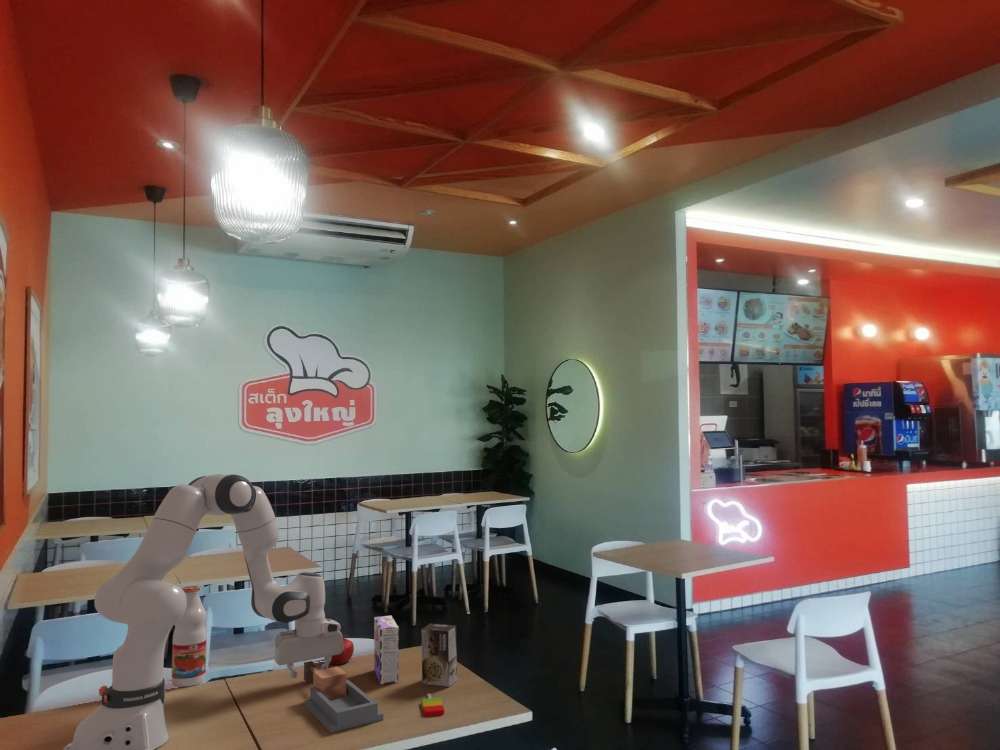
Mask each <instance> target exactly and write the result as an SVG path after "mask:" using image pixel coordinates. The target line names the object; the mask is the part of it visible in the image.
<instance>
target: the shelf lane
mask: <svg viewBox="0 0 1000 750" xmlns="http://www.w3.org/2000/svg"><path fill="white" fill-rule="evenodd" d="M309 689H310V690H309V691H310V696H309V698H308V699H307V698H306V699H304V704H303V706H304V708H306V709H307V710H308V711H309V712H310V713H311V714H312V715H313V716H314V718H315V719H317V720H318V721H319V723H321V724H322V726H324V728H325V729H326V730H327V731H328V732H330V734H333V733H337V732H342V731H346V730H349V729H352V728H358V727H360V726H364V725H368V724H371V723H376V722H380V721H383V720H384V713H383V712H382V711H381V710H380V709H378V708H379V707H378V706H379V705H378V702H377V701H375V700H374V699H373V698H372V697H370V696H369V695H368V694H367V693H365V692H364V691H363V690H361V688H359V687H358V686H357V685H355V684H354V683H353V682H352V681H351V680H349V679H346V696H343V697H339V698H334V699H330V700H329V699H328V698H326V697H325V696H324V695H323V694H322V693H321V692H320V691H319V690H318V689H317V688H316V687H310V688H309Z"/></svg>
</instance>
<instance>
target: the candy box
mask: <svg viewBox="0 0 1000 750" xmlns="http://www.w3.org/2000/svg"><path fill="white" fill-rule="evenodd" d="M373 619H374V622H373V623H374V626H373V627H374V633H373V634H374V635H373V636H374V642H373V643H374V648H373V649H374V663H373V664H374V667H373V670H374V673H375V675H376V678H377V680H378V683H379V685H388V684H390V685H391V684H397V683H399V653H400V652H399V649H400V648H399V647H400V646H399V642H400V641H399V640H400V639H399V637H400V628H399V627H400V626H399V625H398V624H397V622H396V621H395V619H394V617H393V616H392V615H383V616H374V618H373Z"/></svg>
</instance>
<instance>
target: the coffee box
mask: <svg viewBox="0 0 1000 750" xmlns="http://www.w3.org/2000/svg"><path fill="white" fill-rule="evenodd" d="M420 632H421V684H422V685H427V686H428V685H431V686H438V687H447V688H450V687H451V686H452V685H453V684H455V683H456V682H457V681H458V665H457V664H458V659H457V657H458V651H457V650H458V648H457V645H458V644H457V643H458V642H457V625H453V624H443V623H428V624H427V625H426V626H424V627H423V628H421V631H420Z"/></svg>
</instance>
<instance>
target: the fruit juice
mask: <svg viewBox="0 0 1000 750" xmlns="http://www.w3.org/2000/svg"><path fill="white" fill-rule="evenodd" d="M181 589H182V590H183V591H184V592H185V594H186V598H187V606H186V610H185V612H184V614H183V616H182V618H181V619H180V620H179V621H178V622H177V623H176V624H175V625H174V628H175V629H174V631H173V635H172V654H171V656H172V657H171V659H172V661H171V684H172V685H173V687H179V688H183V687H184V688H188V687H192V686H196V685H199V684H201V683H203V682H204V681H205V680H206V676H207V674H206V673H207V640H208V639H207V636H208V635H207V628H206V621H207V616H208V615H207V611H206V609H205V607H204V605H203V603H202V600H201V596H200V594H199V593H200V591H201V590H200V589H201V587H200V585H188V586H184V587H182V588H181Z"/></svg>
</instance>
